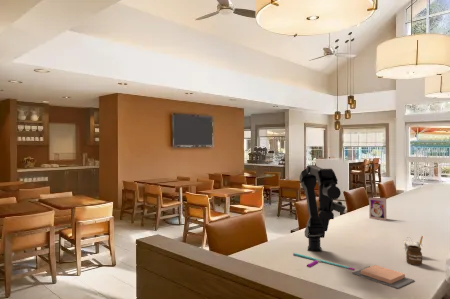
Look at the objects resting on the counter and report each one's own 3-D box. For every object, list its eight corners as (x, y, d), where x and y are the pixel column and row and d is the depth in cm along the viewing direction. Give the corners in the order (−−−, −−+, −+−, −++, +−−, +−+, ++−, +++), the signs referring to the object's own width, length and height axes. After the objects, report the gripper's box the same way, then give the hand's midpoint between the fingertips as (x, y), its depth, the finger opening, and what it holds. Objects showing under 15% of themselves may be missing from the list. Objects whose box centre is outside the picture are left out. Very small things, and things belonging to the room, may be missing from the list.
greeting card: (368, 218, 235) (368, 197, 235) (373, 216, 240) (373, 196, 240) (385, 220, 227) (385, 199, 227) (389, 219, 232) (389, 198, 232)
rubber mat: (352, 273, 129) (352, 272, 129) (369, 267, 136) (369, 266, 136) (397, 288, 114) (397, 287, 114) (414, 281, 121) (414, 279, 121)
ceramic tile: (360, 270, 127) (390, 279, 117) (375, 264, 133) (404, 273, 123) (360, 274, 127) (391, 284, 117) (375, 268, 133) (404, 278, 123)
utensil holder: (404, 260, 144) (404, 233, 144) (420, 261, 142) (420, 234, 143) (408, 264, 139) (407, 236, 139) (424, 266, 137) (424, 237, 137)
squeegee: (282, 257, 146) (294, 252, 153) (282, 260, 146) (294, 255, 153) (344, 274, 126) (354, 267, 134) (344, 278, 126) (354, 272, 134)
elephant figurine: (417, 252, 155) (416, 237, 155) (424, 258, 146) (424, 243, 146) (399, 251, 157) (399, 236, 157) (406, 257, 148) (405, 242, 148)
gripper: (346, 199, 135) (346, 237, 135) (342, 194, 153) (342, 227, 153) (318, 199, 138) (318, 235, 138) (318, 193, 156) (318, 226, 156)
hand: (325, 231), depth 146 cm, fingers closed
